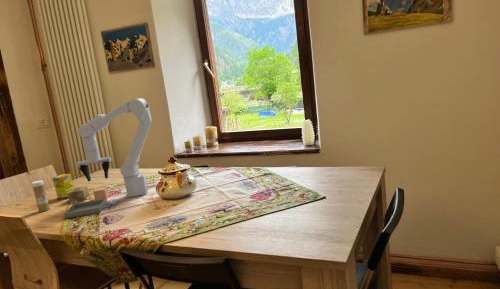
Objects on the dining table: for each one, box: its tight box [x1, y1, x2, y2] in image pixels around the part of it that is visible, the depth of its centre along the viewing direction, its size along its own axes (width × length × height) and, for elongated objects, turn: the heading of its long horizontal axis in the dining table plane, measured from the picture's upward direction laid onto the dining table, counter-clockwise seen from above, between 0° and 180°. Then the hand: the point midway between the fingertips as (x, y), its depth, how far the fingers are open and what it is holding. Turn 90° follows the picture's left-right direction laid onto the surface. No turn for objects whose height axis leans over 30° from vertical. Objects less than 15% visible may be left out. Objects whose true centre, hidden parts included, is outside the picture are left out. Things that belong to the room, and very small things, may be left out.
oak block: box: [67, 185, 90, 204], centre depth 182 cm, size 7×7×5 cm
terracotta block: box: [92, 186, 110, 201], centre depth 176 cm, size 5×5×5 cm
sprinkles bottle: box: [31, 180, 51, 213], centre depth 171 cm, size 5×5×14 cm
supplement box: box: [52, 173, 75, 200], centre depth 188 cm, size 6×6×11 cm
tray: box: [63, 199, 108, 220], centre depth 162 cm, size 14×12×2 cm
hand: (98, 179), depth 175 cm, fingers open, 7 cm apart
